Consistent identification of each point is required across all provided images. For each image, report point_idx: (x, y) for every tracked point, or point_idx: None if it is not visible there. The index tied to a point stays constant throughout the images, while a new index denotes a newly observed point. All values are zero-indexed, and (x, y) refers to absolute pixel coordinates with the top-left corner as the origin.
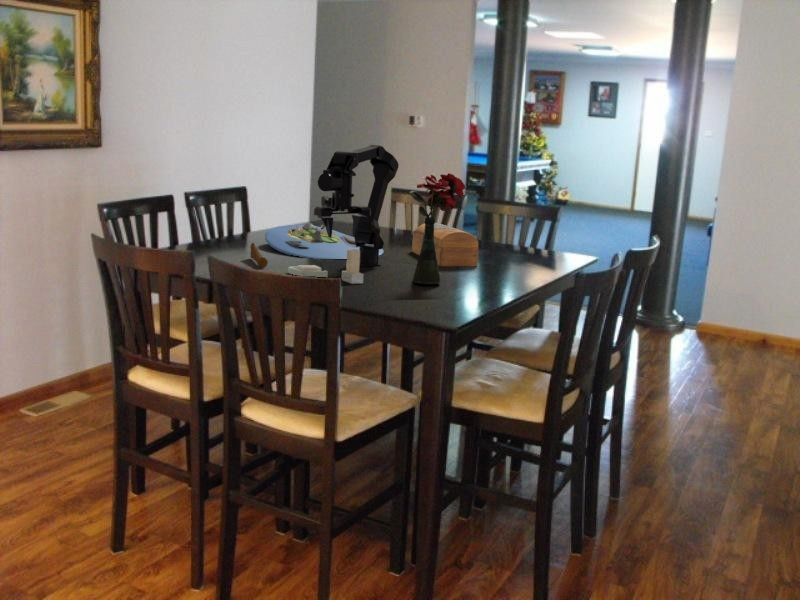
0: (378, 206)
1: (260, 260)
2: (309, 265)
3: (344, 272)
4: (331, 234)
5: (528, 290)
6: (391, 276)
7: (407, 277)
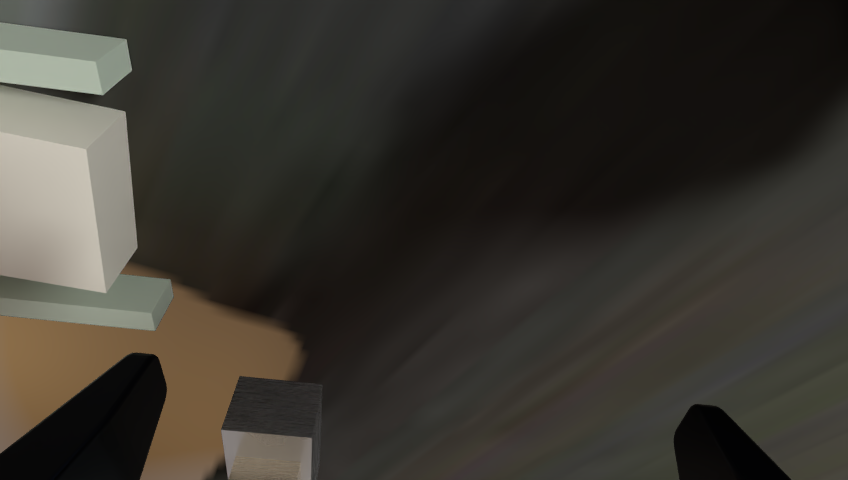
0: None
1: None
2: (12, 150)
3: (226, 447)
4: (138, 464)
5: None
6: (651, 384)
7: None
